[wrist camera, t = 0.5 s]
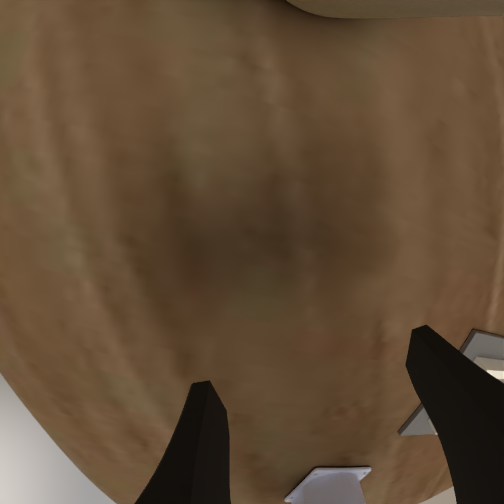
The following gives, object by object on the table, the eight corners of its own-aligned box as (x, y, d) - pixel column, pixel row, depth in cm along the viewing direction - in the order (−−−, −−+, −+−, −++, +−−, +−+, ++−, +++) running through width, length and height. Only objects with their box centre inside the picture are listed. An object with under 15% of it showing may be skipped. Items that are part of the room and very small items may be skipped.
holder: (469, 426, 30) (478, 440, 27) (397, 431, 28) (406, 450, 25) (531, 342, 26) (544, 355, 23) (472, 329, 23) (488, 345, 21)
